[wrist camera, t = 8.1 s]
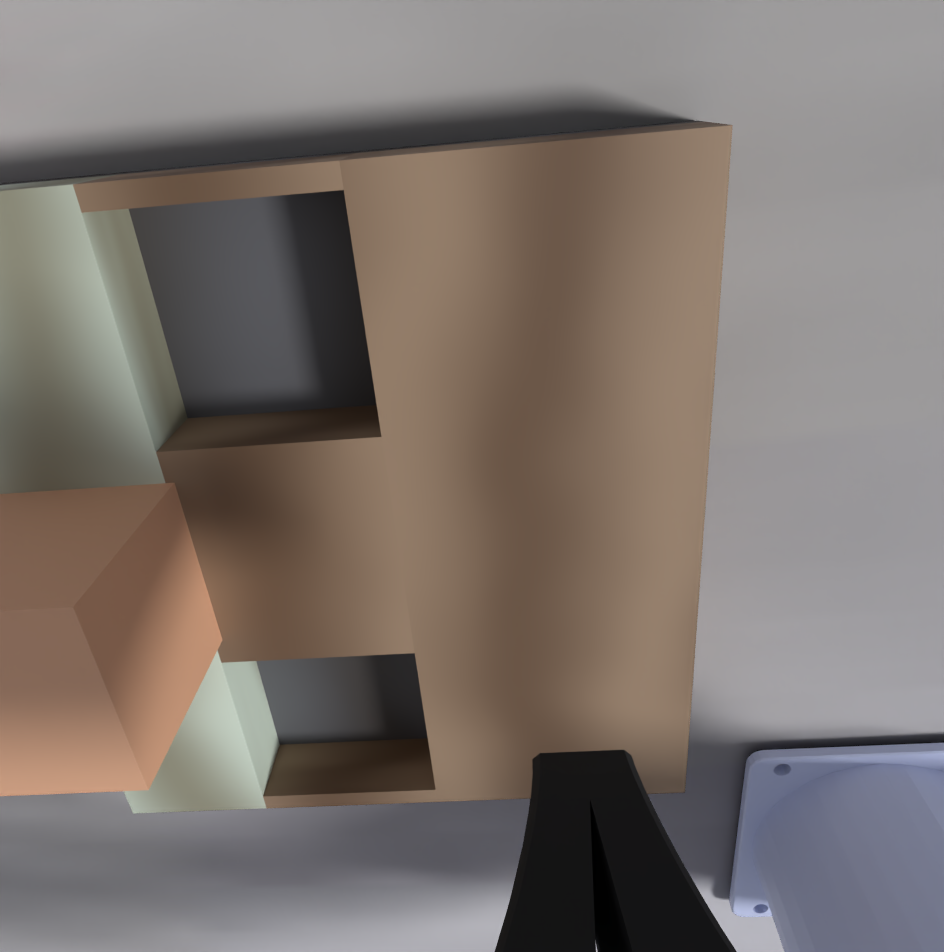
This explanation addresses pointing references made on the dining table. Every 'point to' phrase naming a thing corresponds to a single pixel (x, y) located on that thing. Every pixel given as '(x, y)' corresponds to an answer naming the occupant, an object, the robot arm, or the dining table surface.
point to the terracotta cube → (97, 636)
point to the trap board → (395, 444)
